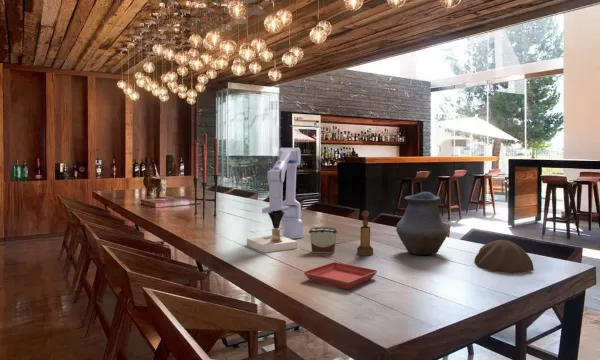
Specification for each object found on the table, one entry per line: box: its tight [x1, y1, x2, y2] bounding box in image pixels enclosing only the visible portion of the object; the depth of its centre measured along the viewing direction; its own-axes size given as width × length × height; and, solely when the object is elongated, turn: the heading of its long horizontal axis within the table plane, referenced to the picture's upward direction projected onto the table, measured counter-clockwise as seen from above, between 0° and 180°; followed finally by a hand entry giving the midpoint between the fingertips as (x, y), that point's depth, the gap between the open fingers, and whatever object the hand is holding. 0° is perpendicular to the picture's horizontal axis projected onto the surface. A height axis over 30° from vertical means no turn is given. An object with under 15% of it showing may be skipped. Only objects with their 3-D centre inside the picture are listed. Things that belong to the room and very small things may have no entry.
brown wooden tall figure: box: [356, 209, 374, 256], centre depth 176 cm, size 7×6×18 cm
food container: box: [308, 226, 339, 254], centre depth 182 cm, size 12×6×10 cm, turn 84°
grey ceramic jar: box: [395, 191, 448, 256], centre depth 178 cm, size 21×22×25 cm
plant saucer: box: [303, 261, 378, 290], centre depth 141 cm, size 18×18×3 cm
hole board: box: [246, 234, 298, 253], centre depth 191 cm, size 16×18×3 cm
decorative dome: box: [473, 239, 535, 274], centre depth 157 cm, size 19×20×10 cm
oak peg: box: [270, 227, 282, 243], centre depth 187 cm, size 5×5×8 cm
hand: (276, 228), depth 186 cm, fingers closed
